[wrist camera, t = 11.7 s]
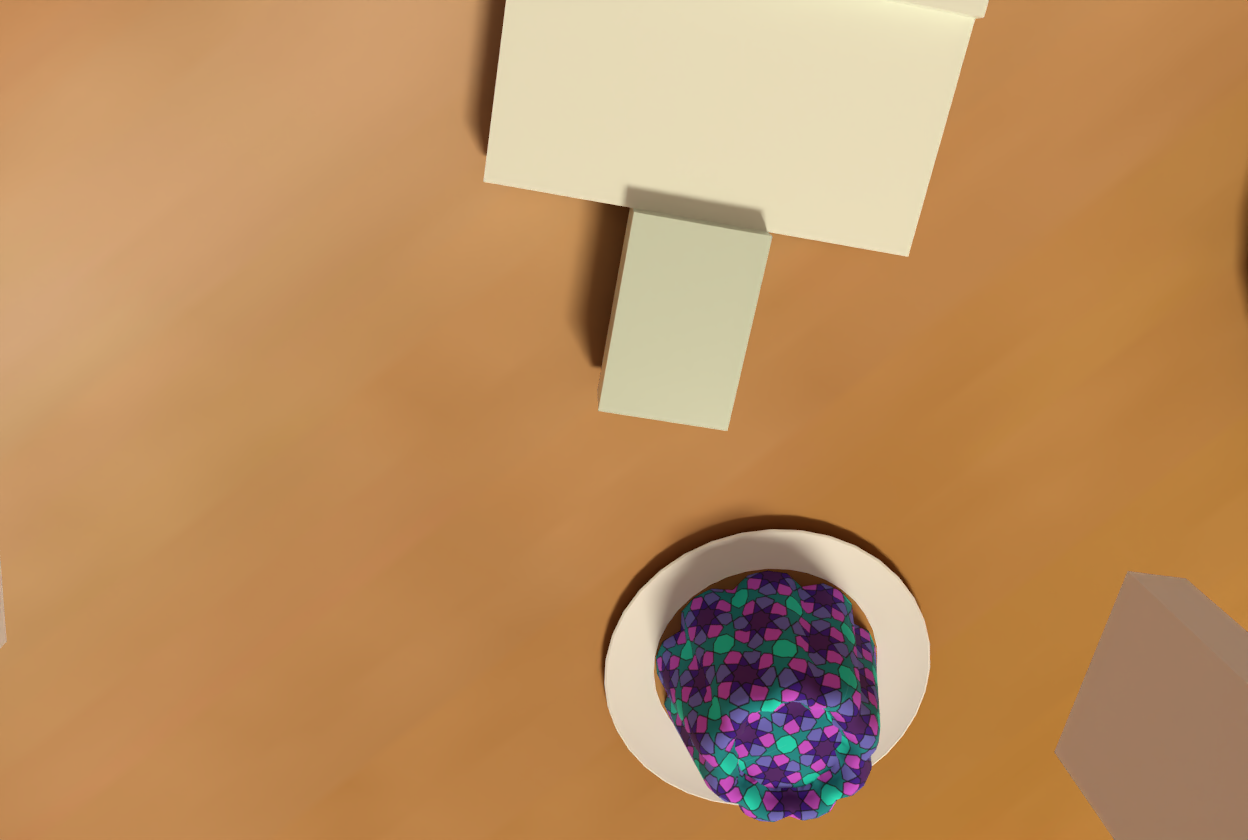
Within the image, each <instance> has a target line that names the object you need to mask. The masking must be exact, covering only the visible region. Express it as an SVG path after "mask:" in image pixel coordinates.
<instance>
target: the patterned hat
mask: <svg viewBox="0 0 1248 840" xmlns="http://www.w3.org/2000/svg"><path fill="white" fill-rule="evenodd" d="M762 569H789V570H794V571H799V572H804V573H809V574H811V575H814V576H817V577H819V578H822V579H825V580H827V581H828V582H830V583H832V584H834V585H835V586H837V587H839V588H840V589H842V590H843V591H844V592H845V593H846V594H848V595H849V596H850V597H851V598H852V599H853V600H854V601H855V602H856V603H857V604H858V605H859V607H860V608H861V609H862V611H863V612H864V613H865V615H866V616H867V619H868V621H869V623H870V625H871V627H872V629H873V632H874V636H875V640H876V645H877V667H876V652H875V645H874V643H873V640H872V638H871V635H870V633H869V631H867V630H865V629H863V628H861V627H859V626H857V625H856V624H854V621H853V612H852V604H851V602H850V601H849V600H848V599H847V598H846V597H845V596H844V595H843V593H842V592H841V591H840V590H837V589H835V588H833V587H830V586H828V585H826V584H816V585H810V586H804V587H801V586H800V585H799V584H798V583H797V582H796V581H795V580H794V579H792V578H791V577H790V576H789V575H788V574H787V573H781V572H773V571H764V572H760V573H755V574H751V575H748V576H747V577H746V578H745V579H744V580H743V581H742V582H741V583H740V584H739V585H738V586H737V587H736V588H735V589H734V590H723V589H710V590H708V591H706V592H704V593H702V594H700V595H698V596H696V597H694V598H693V599H692V600H691V601H690V603H689V604H688V605H687V606H686V607H685V608H684V610H683V611H682V614H681V631H679V632H678V633H676V634H674V635H673V636H671V637H670V638H668V639H666V640H665V641H663V642H662V645H661V647H660V649H659V652H658V654H657V656H656V665H657V674H658V676H659V678H660V680H661V682H662V684H663V686H664V688H665V690H666V692H667V694H668V695H667V698H666V701H665V704H664V705H665V707H666V709H667V712H668V714H669V716H670V719H671V720H670V719H669V717H668V715H667V714H666V712H665V711H664V709H663V707H662V706H661V703H660V700H659V697H658V695H657V692H656V687H655V680H654V661H655V654H656V651H657V647H658V644H659V640H660V638H661V636H662V634H663V632H664V630H665V628H666V626H667V624H668V623H669V622H670V620H671V619H672V618H673V616H674V615H675V614H676V612H677V611H678V610H679V609H680V608H681V607H682V606H683V605H684V604H685V603H686V602H687V601H688V600H689V599H690V598H692V597H693V596H694V595H696V594H697V593H699V592H700V591H702V590H703V589H705V588H706V587H708V586H709V585H711V584H713V583H716V582H718V581H720V580H722V579H724V578H726V577H729V576H733V575H736V574H740V573H743V572H747V571H754V570H762ZM929 670H930V642H929V638H928V634H927V629H926V625H925V620H924V618H923V616H922V614H921V611H920V609H919V607H918V605H917V603H916V601H915V598H914V597H913V595H912V594H911V593H910V591H909V590H908V589H907V587H906V586H905V585H904V583H903V582H902V581H901V579H900V578H899V577H898V576H897V575H896V574H895V573H894V572H892V571H891V570H890V569H889V568H888V567H887V566H886V565H885V564H884V563H882V562H881V561H880V560H879V559H877V558H875V557H874V556H872V555H871V554H869V553H867V552H866V551H864V550H862V549H861V548H859V547H857V546H855V545H853V544H850V543H847V542H845V541H842V540H839V539H837V538H834V537H831V536H828V535H823V534H818V533H813V532H808V531H802V530H779V529H769V530H761V531H753V532H745V533H739V534H736V535H732V536H729V537H725V538H722V539H718V540H715V541H711V542H709V543H707V544H705V545H703V546H701V547H698V548H696V549H694V550H692V551H690V552H688V553H685V554H684V555H682V556H681V557H679V558H678V559H676V560H675V561H673V562H672V563H670V564H669V565H667V566H666V567H664V568H663V569H661V570H660V571H659V572H658V573H657V574H656V575H655V576H654V577H653V578H652V579H651V580H650V581H648V582H647V583H646V584H645V585H644V586H643V587H642V588H641V589H640V590H639V591H638V593H637V594H636V595H635V597H634V598H633V600H632V601H631V602H630V604H629V605H628V606H627V608H626V609H625V610H624V612H623V614H622V616H621V618H620V620H619V622H618V624H617V626H616V628H615V630H614V632H613V634H612V637H611V641H610V645H609V649H608V652H607V656H606V662H605V680H604V685H605V692H606V698H607V705H608V709H609V712H610V714H611V717H612V720H613V722H614V725H615V728H616V730H617V732H618V733H619V735H620V736H621V738H622V739H623V741H624V743H625V744H626V746H627V747H628V749H629V750H630V751H631V752H632V753H633V755H634V756H635V757H636V758H637V759H638V760H639V761H640V762H641V763H642V764H643V765H644V766H645V767H646V768H647V769H648V770H650V771H651V772H653V773H654V774H655V775H657V776H658V777H659V778H661V779H662V780H663V781H665V782H667V783H668V784H670V785H672V786H674V787H676V788H678V789H680V790H682V791H684V792H686V793H689V794H692V795H695V796H698V797H701V798H704V799H707V800H711V801H715V802H721V803H727V804H734V805H739V807H740V808H741V810H742V811H743V813H745V814H746V815H747V816H750V817H752V818H754V819H756V820H759V821H768V822H775V821H778V820H780V819H782V818H785V817H787V816H791V817H794V818H797V819H800V820H808V819H814V818H818V817H820V816H822V815H824V814H826V813H828V812H830V811H831V809H832V808H833V806H834V804H835V803H836V801H837V799H841V798H845V797H848V796H852V795H854V794H855V793H856V792H857V791H858V790H859V789H861V788H862V787H863V786H864V784H865V782H866V780H867V778H868V775H869V773H870V771H871V767H872V766H873V765H874V764H875V763H876V762H878V761H879V760H880V759H881V758H882V757H884V756H885V755H886V754H887V753H888V752H889V751H890V749H891V748H892V747H893V746H894V745H895V744H896V743H897V742H898V740H899V739H900V738H901V737H902V736H903V735H904V733H905V731H906V730H907V728H908V727H909V725H910V723H911V722H912V720H913V719H914V717H915V715H916V714H917V711H918V709H919V706H920V704H921V701H922V699H923V696H924V694H925V691H926V686H927V681H928V676H929Z"/></svg>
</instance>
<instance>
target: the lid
mask: <svg viewBox="0 0 1248 840" xmlns="http://www.w3.org/2000/svg"><path fill="white" fill-rule="evenodd" d="M988 1H989V0H506V5H505V13H504V21H503V29H502V37H501V45H500V53H499V61H498V69H497V77H496V85H495V93H494V101H493V109H492V117H491V125H490V133H489V141H488V149H487V157H486V165H485V173H484V182H488V183H494V184H499V185H505V186H511V187H516V188H522V189H528V190H533V191H539V192H545V193H550V194H556V195H562V196H567V197H573V198H579V199H584V200H590V201H596V202H601V203H607V204H613V205H618V206H624V207H630V210H629V215H628V221H627V226H626V232H625V238H624V243H623V249H622V255H621V260H620V266H619V271H618V277H617V283H616V288H615V294H614V300H613V305H612V311H611V316H610V322H609V328H608V333H607V339H606V344H605V350H604V356H603V361H602V367H601V373H600V378H599V384H598V389H597V391H598V411H602V412H609V413H615V414H621V415H628V416H634V417H641V418H647V419H654V420H660V421H667V422H673V423H680V424H686V425H692V426H699V427H705V428H712V429H718V430H725V431H728V426H729V422H730V418H731V413H732V409H733V405H734V400H735V396H736V392H737V387H738V383H739V379H740V374H741V370H742V366H743V361H744V357H745V353H746V348H747V344H748V340H749V335H750V331H751V327H752V322H753V318H754V314H755V309H756V305H757V301H758V296H759V292H760V288H761V283H762V279H763V275H764V270H765V266H766V262H767V257H768V253H769V249H770V244H771V240H772V236H771V235H770V234H769V233H768V232H771V233H777V234H783V235H788V236H794V237H800V238H805V239H811V240H817V241H822V242H828V243H834V244H839V245H845V246H851V247H856V248H862V249H868V250H873V251H879V252H885V253H890V254H896V255H902V256H907V257H908V255H909V252H910V248H911V245H912V241H913V237H914V234H915V230H916V227H917V223H918V220H919V216H920V213H921V209H922V206H923V202H924V198H925V195H926V191H927V188H928V184H929V181H930V177H931V174H932V170H933V167H934V163H935V159H936V156H937V152H938V149H939V145H940V142H941V138H942V135H943V131H944V128H945V124H946V120H947V117H948V113H949V110H950V106H951V103H952V99H953V96H954V92H955V89H956V85H957V81H958V78H959V74H960V71H961V67H962V64H963V60H964V57H965V53H966V50H967V46H968V43H969V39H970V35H971V32H972V28H973V25H974V21H975V19H976V18H984V15H985V12H986V8H987V5H988Z"/></svg>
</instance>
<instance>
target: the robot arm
mask: <svg viewBox="0 0 1248 840" xmlns="http://www.w3.org/2000/svg"><path fill="white" fill-rule="evenodd" d="M6 642H7V641H6V628H5V615H4V602H3V589H2V576H1V563H0V648H1V647H2V646H3V645H4V644H5V643H6ZM1055 754H1056V755H1057V757H1058V758H1059V759H1060V761H1061V762H1062V764H1063V765H1064V767H1065V768H1066V770H1067V771H1068V773H1069V774H1070V776H1071V777H1072V778H1073V780H1074V781H1075V783H1076V784H1077V786H1078V787H1079V789H1080V790H1081V792H1082V793H1083V795H1084V796H1085V797H1086V799H1087V800H1088V802H1089V803H1090V805H1091V806H1092V808H1093V809H1094V811H1095V812H1096V814H1097V815H1098V816H1099V818H1100V819H1101V821H1102V822H1103V824H1104V825H1105V827H1106V828H1107V830H1108V831H1109V833H1110V834H1111V835H1112V837H1113V838H1114V840H1248V632H1247V631H1246V630H1245V629H1243V628H1242V627H1241V626H1240V625H1239V624H1238V623H1237V622H1235V621H1234V620H1233V619H1232V618H1231V617H1230V616H1228V615H1227V614H1226V613H1225V612H1224V611H1223V610H1222V609H1220V608H1219V607H1218V606H1217V605H1216V604H1215V603H1213V602H1212V601H1211V600H1210V599H1209V598H1208V597H1206V596H1205V595H1204V594H1203V593H1202V592H1201V591H1200V590H1198V589H1197V588H1196V587H1195V586H1194V585H1193V584H1191V583H1190V582H1189V581H1188V580H1187V579H1185V578H1177V577H1169V576H1161V575H1153V574H1146V573H1138V572H1130V571H1128V572H1127V574H1126V577H1125V579H1124V582H1123V584H1122V587H1121V589H1120V592H1119V594H1118V597H1117V599H1116V602H1115V604H1114V606H1113V609H1112V611H1111V614H1110V616H1109V619H1108V621H1107V624H1106V626H1105V629H1104V631H1103V634H1102V636H1101V639H1100V641H1099V643H1098V646H1097V648H1096V651H1095V653H1094V656H1093V658H1092V661H1091V663H1090V666H1089V668H1088V671H1087V673H1086V675H1085V678H1084V680H1083V683H1082V685H1081V688H1080V690H1079V693H1078V695H1077V698H1076V700H1075V703H1074V705H1073V707H1072V710H1071V712H1070V715H1069V717H1068V720H1067V722H1066V725H1065V727H1064V730H1063V732H1062V735H1061V737H1060V739H1059V742H1058V744H1057V747H1056V749H1055Z"/></svg>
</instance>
